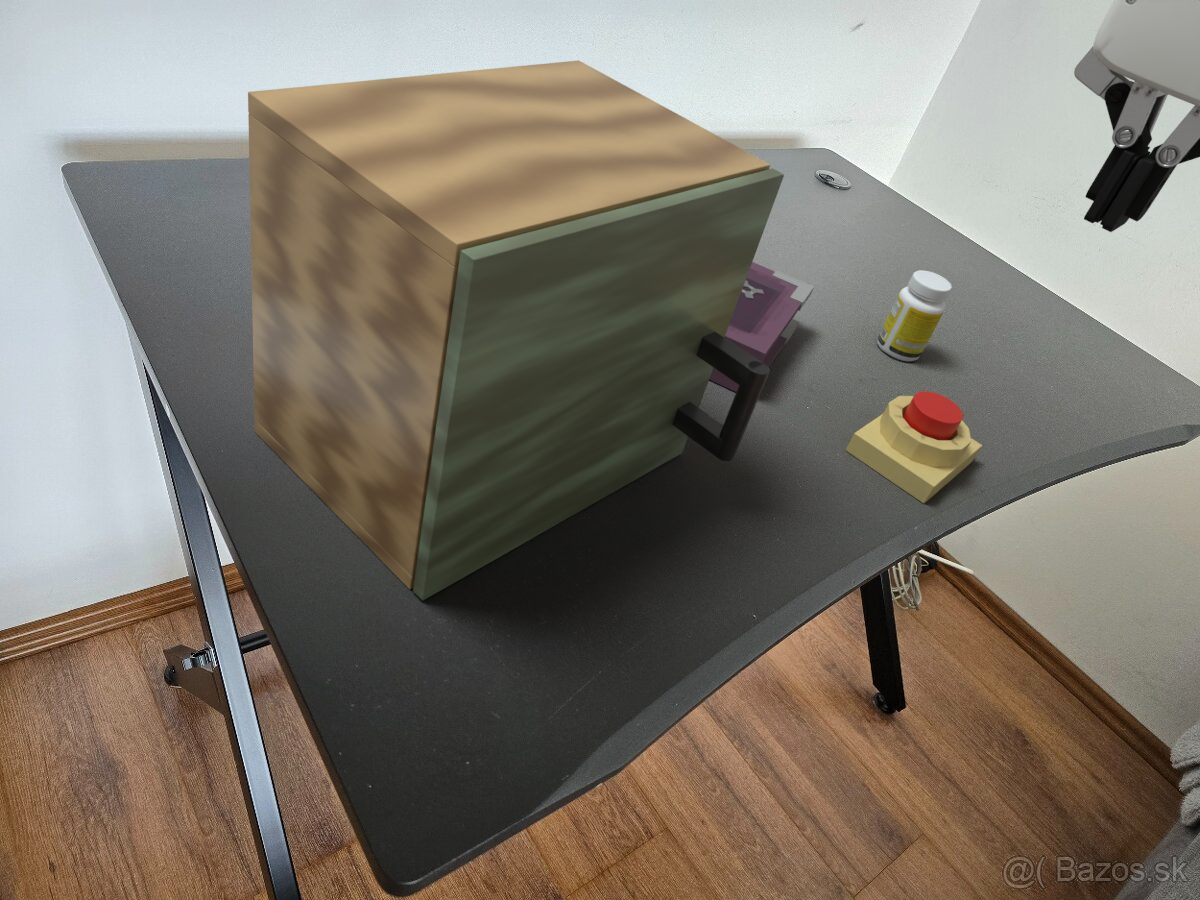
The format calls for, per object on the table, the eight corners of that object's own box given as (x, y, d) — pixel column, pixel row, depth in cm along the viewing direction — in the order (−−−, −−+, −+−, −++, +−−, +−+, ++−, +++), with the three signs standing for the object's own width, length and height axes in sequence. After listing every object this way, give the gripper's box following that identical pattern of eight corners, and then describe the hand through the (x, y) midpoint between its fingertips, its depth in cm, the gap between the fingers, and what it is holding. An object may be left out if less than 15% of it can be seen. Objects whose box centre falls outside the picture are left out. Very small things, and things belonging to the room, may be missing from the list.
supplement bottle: (928, 359, 96) (965, 290, 91) (898, 365, 94) (935, 295, 88) (896, 334, 99) (930, 265, 94) (866, 339, 96) (900, 269, 91)
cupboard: (670, 446, 75) (771, 164, 60) (409, 590, 57) (457, 244, 42) (523, 334, 82) (578, 59, 67) (254, 431, 65) (247, 91, 50)
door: (732, 491, 72) (852, 211, 57) (477, 657, 55) (553, 317, 40) (673, 446, 75) (772, 167, 60) (412, 591, 57) (460, 249, 42)
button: (917, 403, 82) (927, 385, 80) (960, 430, 80) (971, 412, 78) (894, 419, 79) (904, 400, 77) (938, 448, 77) (949, 429, 76)
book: (796, 328, 95) (814, 286, 92) (748, 398, 83) (766, 353, 80) (583, 234, 100) (593, 192, 97) (509, 287, 88) (517, 241, 85)
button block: (897, 413, 86) (916, 380, 84) (972, 461, 83) (993, 428, 80) (845, 450, 80) (863, 414, 77) (923, 504, 76) (945, 468, 74)
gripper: (1541, -107, 39) (1254, 271, 50) (1194, -197, 45) (1009, 156, 57) (1541, -118, 34) (1223, 303, 45) (1152, -217, 40) (959, 173, 52)
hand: (1105, 220), depth 51 cm, fingers closed
